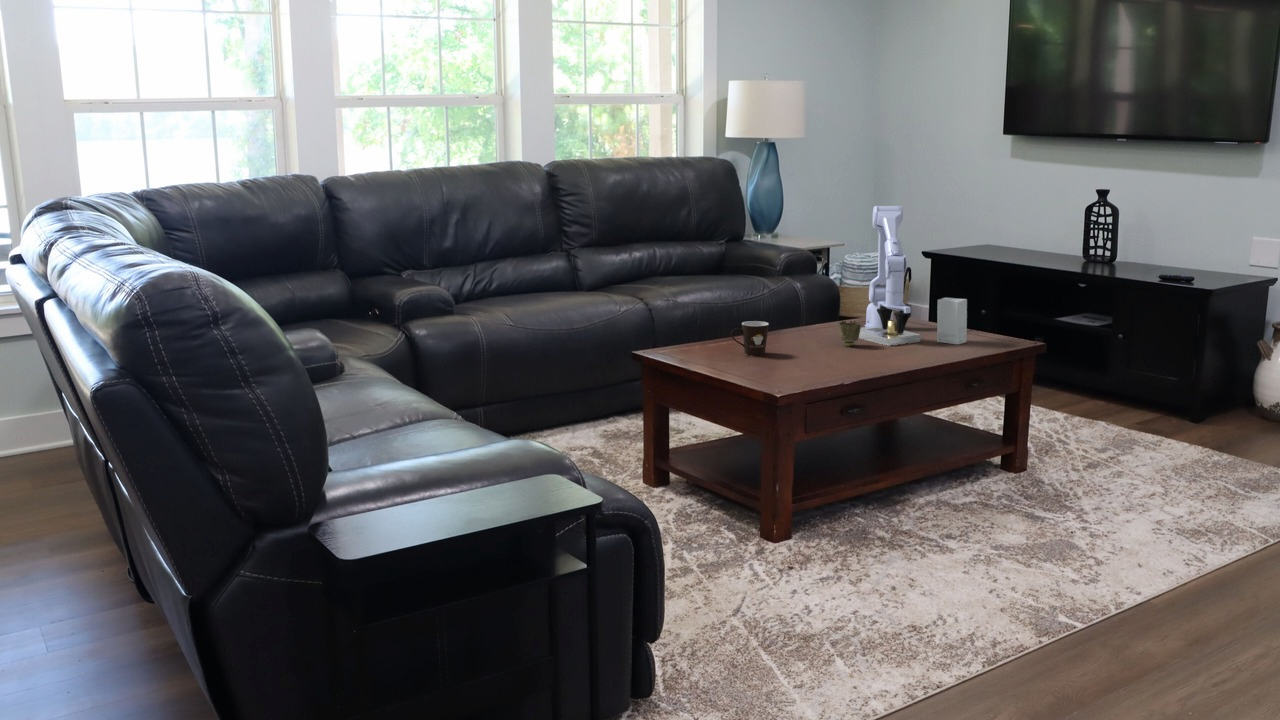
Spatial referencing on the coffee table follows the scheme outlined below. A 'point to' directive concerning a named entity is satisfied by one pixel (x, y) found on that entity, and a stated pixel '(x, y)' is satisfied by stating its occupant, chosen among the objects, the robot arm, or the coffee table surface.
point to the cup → (849, 332)
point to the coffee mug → (753, 337)
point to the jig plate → (887, 336)
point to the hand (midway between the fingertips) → (892, 331)
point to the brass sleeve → (892, 328)
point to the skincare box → (952, 320)
